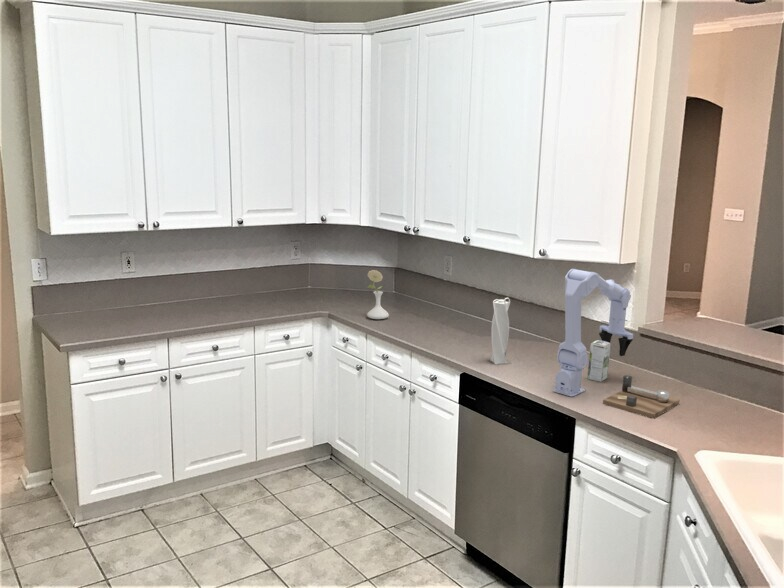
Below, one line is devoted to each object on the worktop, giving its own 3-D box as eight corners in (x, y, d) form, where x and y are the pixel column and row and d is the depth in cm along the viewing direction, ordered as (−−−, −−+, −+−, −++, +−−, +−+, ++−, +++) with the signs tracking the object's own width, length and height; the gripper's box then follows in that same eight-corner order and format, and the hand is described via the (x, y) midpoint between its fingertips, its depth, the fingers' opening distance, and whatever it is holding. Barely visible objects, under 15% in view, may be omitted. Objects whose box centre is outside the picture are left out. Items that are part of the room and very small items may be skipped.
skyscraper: (512, 365, 272) (516, 298, 267) (493, 366, 271) (496, 298, 265) (504, 359, 280) (508, 293, 275) (486, 360, 279) (489, 294, 273)
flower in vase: (393, 318, 347) (394, 270, 341) (379, 322, 338) (380, 273, 333) (374, 314, 354) (374, 267, 349) (359, 317, 346) (360, 270, 341)
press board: (653, 418, 218) (655, 405, 217) (602, 403, 231) (603, 391, 230) (679, 403, 232) (680, 391, 231) (629, 390, 245) (630, 378, 244)
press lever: (665, 403, 227) (667, 388, 226) (619, 390, 239) (621, 376, 238) (670, 400, 230) (672, 385, 229) (625, 388, 241) (626, 374, 240)
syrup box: (593, 375, 261) (596, 339, 258) (607, 378, 257) (611, 342, 254) (587, 379, 256) (590, 342, 253) (601, 382, 253) (605, 345, 250)
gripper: (640, 321, 250) (636, 356, 252) (609, 313, 262) (606, 346, 265) (627, 323, 246) (623, 359, 249) (596, 315, 258) (594, 349, 261)
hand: (614, 353), depth 256 cm, fingers open, 7 cm apart
